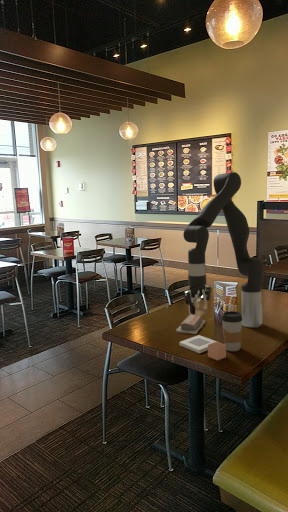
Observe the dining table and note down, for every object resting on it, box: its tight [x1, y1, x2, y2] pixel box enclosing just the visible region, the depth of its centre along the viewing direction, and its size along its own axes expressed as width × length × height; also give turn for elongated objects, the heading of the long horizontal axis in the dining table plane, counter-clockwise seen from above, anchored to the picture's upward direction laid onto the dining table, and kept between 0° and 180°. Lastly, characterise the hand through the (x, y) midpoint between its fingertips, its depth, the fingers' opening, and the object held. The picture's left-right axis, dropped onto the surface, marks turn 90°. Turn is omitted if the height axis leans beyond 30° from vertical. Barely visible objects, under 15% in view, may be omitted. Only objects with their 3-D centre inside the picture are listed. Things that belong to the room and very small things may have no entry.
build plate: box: [178, 334, 218, 354], centre depth 163 cm, size 12×12×2 cm
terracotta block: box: [207, 341, 227, 361], centre depth 150 cm, size 5×5×5 cm
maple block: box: [188, 298, 208, 316], centre depth 160 cm, size 6×6×6 cm
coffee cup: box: [221, 310, 243, 352], centre depth 157 cm, size 8×8×15 cm
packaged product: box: [175, 314, 206, 335], centre depth 186 cm, size 18×5×10 cm
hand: (198, 312), depth 160 cm, fingers closed on maple block, 5 cm apart
